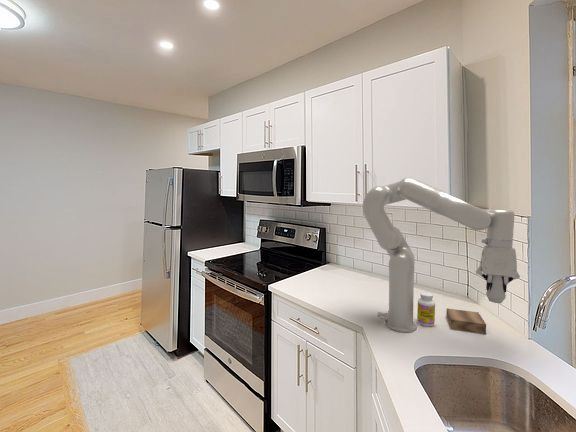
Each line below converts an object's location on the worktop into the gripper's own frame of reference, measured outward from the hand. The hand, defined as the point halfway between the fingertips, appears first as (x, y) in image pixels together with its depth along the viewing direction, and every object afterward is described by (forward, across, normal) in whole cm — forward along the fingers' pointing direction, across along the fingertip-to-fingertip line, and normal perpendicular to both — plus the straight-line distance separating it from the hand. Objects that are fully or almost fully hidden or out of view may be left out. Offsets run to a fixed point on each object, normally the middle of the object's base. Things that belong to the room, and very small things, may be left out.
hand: (495, 292), depth 101 cm
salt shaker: (+3, 0, 0) cm, 3 cm away
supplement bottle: (+19, -22, +7) cm, 30 cm away
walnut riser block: (+19, -7, +12) cm, 23 cm away
